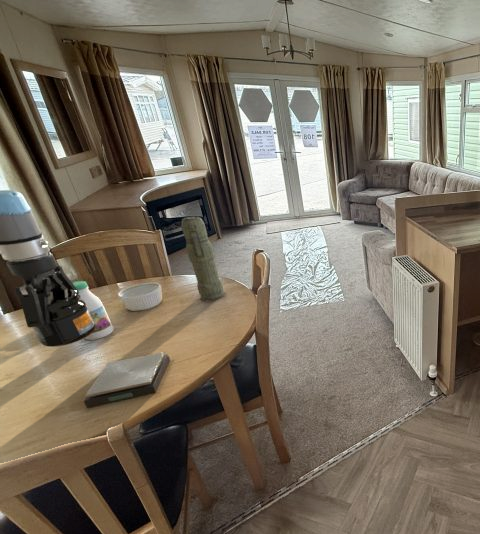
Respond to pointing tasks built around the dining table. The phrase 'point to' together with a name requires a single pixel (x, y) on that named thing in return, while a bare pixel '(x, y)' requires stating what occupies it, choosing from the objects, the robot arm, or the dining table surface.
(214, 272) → the green tiki statue
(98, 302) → the milk bottle
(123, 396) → the scale
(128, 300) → the ramekin
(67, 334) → the supplement container
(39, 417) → the dining table surface
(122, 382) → the grey flat slab
